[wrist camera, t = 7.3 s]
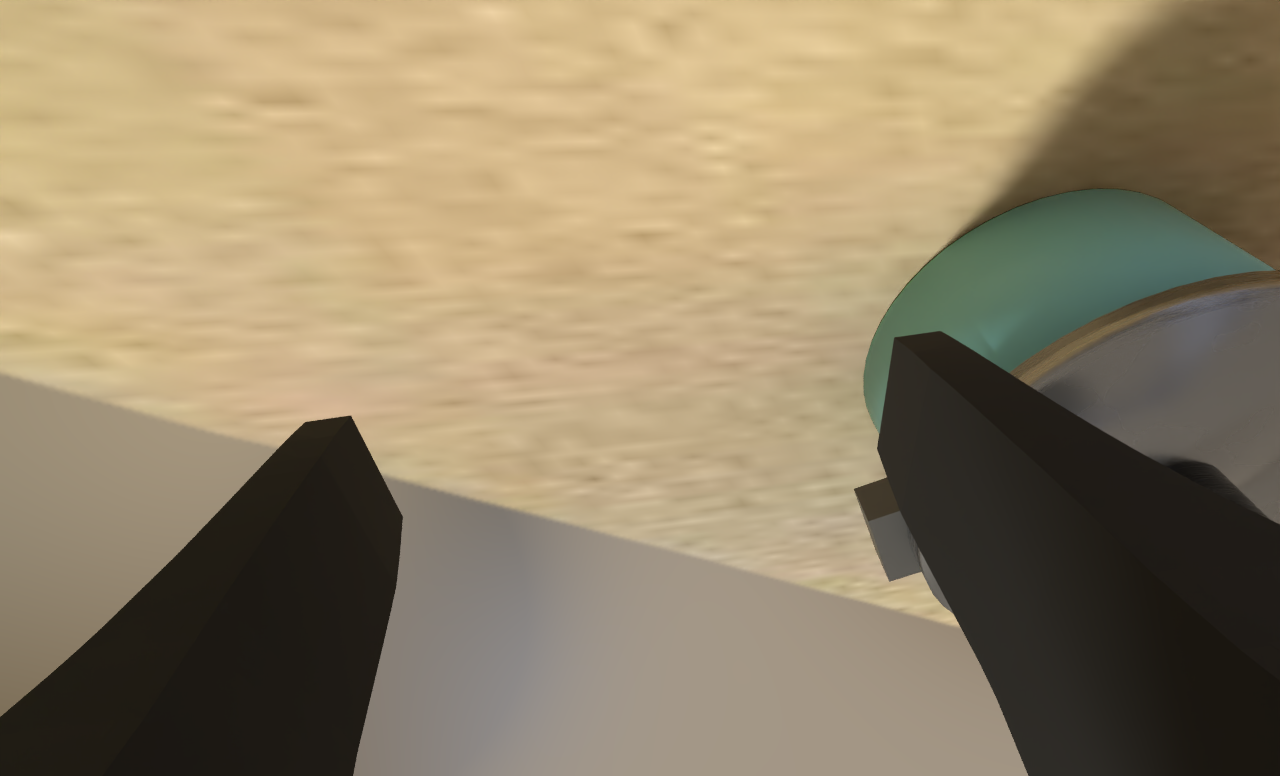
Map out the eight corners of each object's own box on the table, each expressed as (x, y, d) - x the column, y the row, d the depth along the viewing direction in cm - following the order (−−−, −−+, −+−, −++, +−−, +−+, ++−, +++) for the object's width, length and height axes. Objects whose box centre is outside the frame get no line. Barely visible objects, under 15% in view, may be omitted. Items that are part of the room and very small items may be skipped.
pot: (1290, 95, 18) (1542, 186, 13) (1237, 384, 25) (1394, 511, 20) (778, 304, 21) (841, 440, 16) (855, 513, 27) (915, 652, 23)
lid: (1073, 230, 13) (1232, 353, 10) (1528, 308, 15) (1770, 428, 12) (839, 597, 20) (888, 734, 17) (1172, 613, 23) (1268, 736, 20)
